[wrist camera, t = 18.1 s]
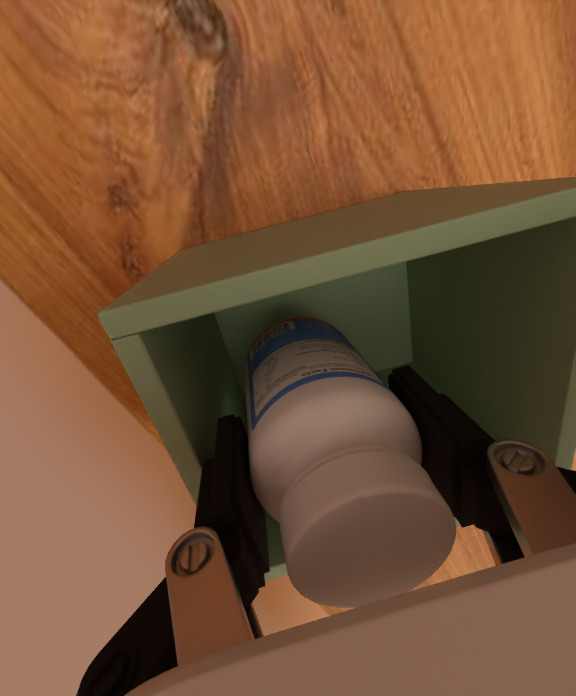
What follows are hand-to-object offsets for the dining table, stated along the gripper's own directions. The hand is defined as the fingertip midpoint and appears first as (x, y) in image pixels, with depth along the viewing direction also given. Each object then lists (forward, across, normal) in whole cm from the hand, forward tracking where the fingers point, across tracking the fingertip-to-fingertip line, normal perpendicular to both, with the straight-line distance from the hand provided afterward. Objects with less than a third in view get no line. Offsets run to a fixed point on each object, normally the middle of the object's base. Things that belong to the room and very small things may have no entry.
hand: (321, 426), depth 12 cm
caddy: (+12, -2, 0) cm, 12 cm away
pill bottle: (+5, 0, 0) cm, 5 cm away
